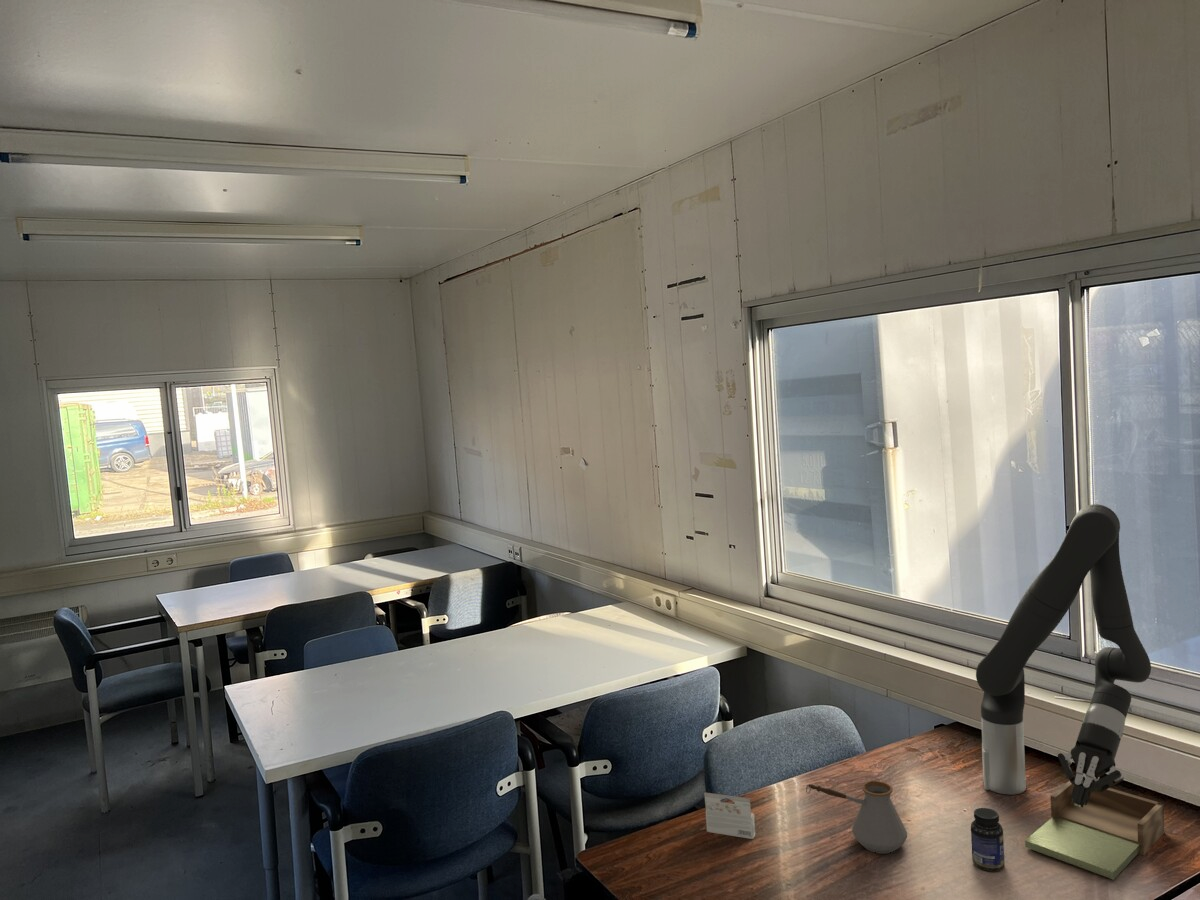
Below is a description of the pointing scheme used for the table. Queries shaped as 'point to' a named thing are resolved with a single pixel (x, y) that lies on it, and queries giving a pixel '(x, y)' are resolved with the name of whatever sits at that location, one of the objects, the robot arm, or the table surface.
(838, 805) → the table surface
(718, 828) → the ink cartridge box
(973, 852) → the pill bottle
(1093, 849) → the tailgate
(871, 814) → the coffee pot
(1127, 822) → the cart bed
